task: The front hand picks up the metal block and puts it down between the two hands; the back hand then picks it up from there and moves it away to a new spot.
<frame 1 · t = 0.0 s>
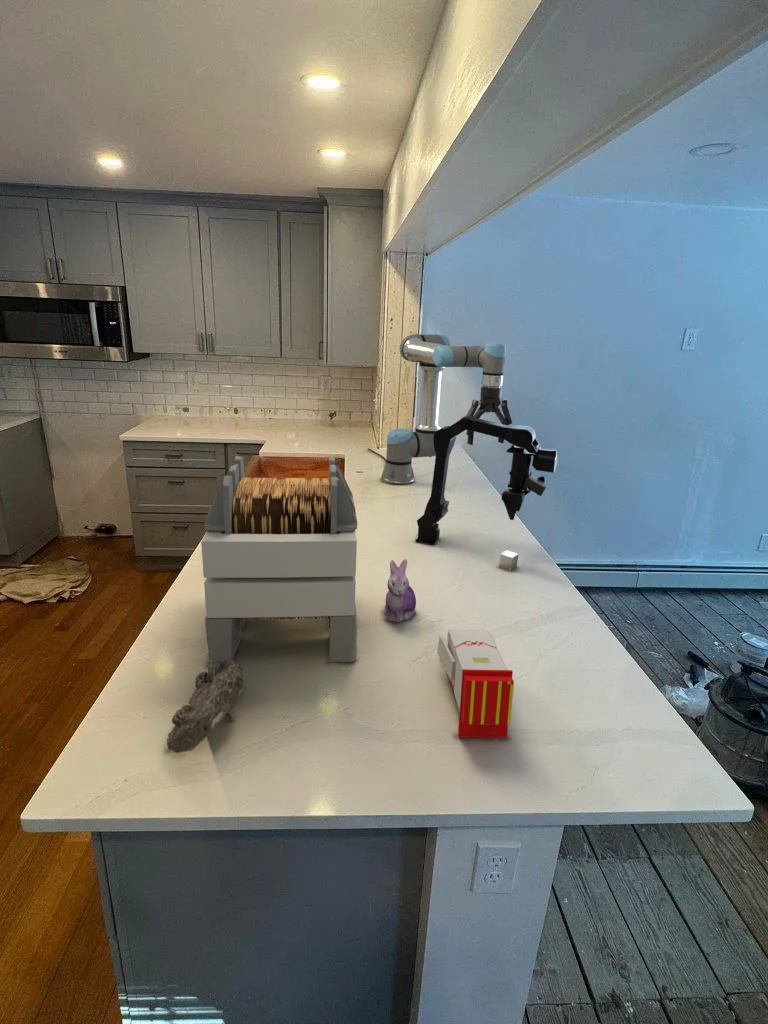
front hand: (514, 515, 180), 15 cm above the counter, tool pointing down, fingers open, 9 cm apart
back hand: (485, 443, 215), 28 cm above the counter, tool pointing down, fingers open, 13 cm apart
block: (507, 567, 177), on the counter
fossil: (212, 717, 108), on the counter
figurine: (399, 614, 147), on the counter
record storage crate: (286, 625, 140), on the counter
toy: (469, 691, 119), on the counter
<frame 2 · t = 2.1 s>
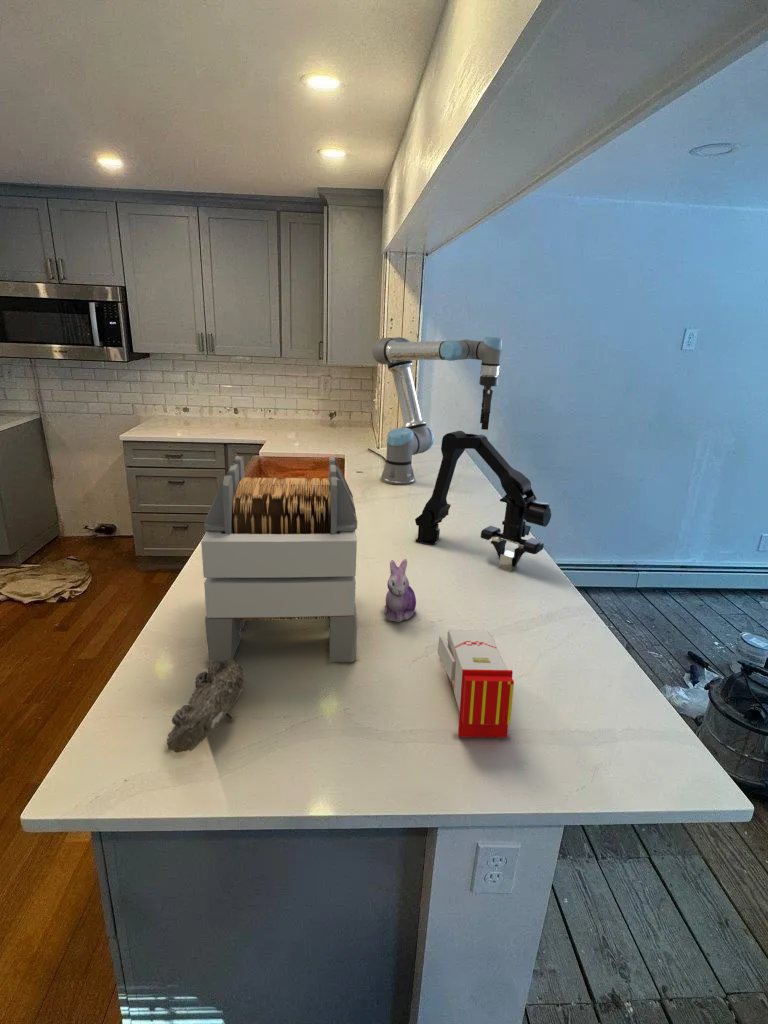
front hand: (508, 564, 177), 1 cm above the counter, tool pointing down, fingers closed on block, 4 cm apart
back hand: (483, 426, 243), 29 cm above the counter, tool pointing down, fingers open, 13 cm apart
block: (507, 567, 177), on the counter, touching front hand
everything else where it was.
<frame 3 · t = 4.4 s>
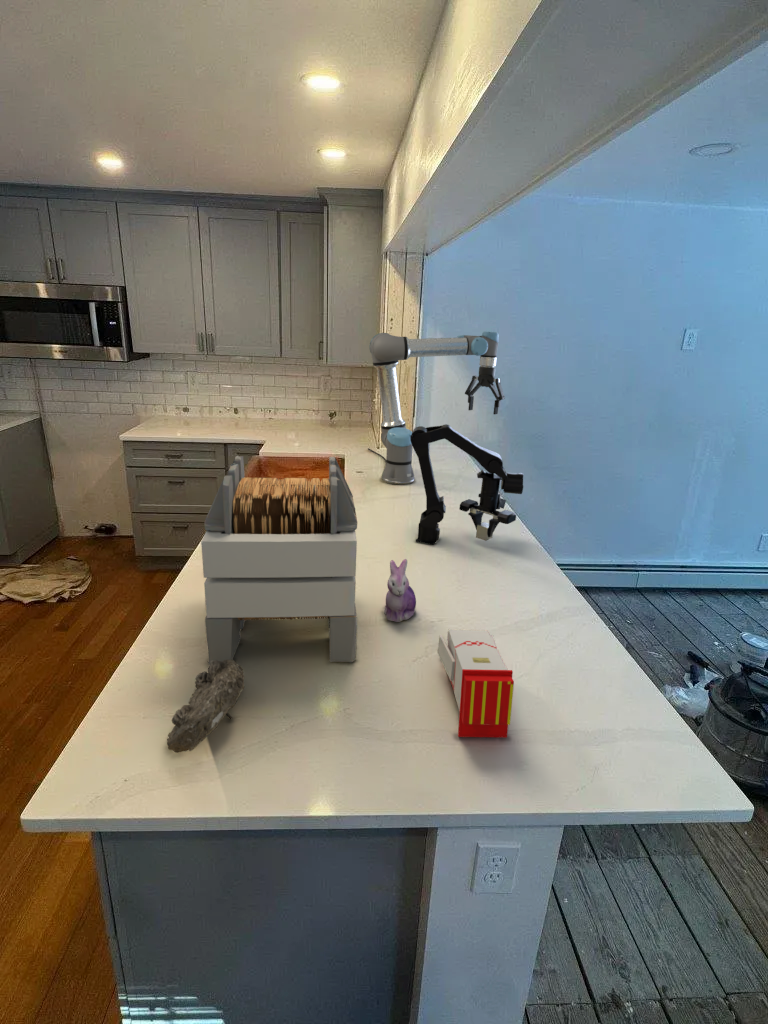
front hand: (484, 534, 192), 4 cm above the counter, tool pointing down, fingers closed on block, 4 cm apart
back hand: (482, 412, 271), 30 cm above the counter, tool pointing down, fingers open, 13 cm apart
block: (484, 537, 192), point 3 cm above the counter, touching front hand
everything else where it was.
when the front hand's fingers open (2 cm above the counter, at t = 6.7 s): block stays where it is, on the counter.
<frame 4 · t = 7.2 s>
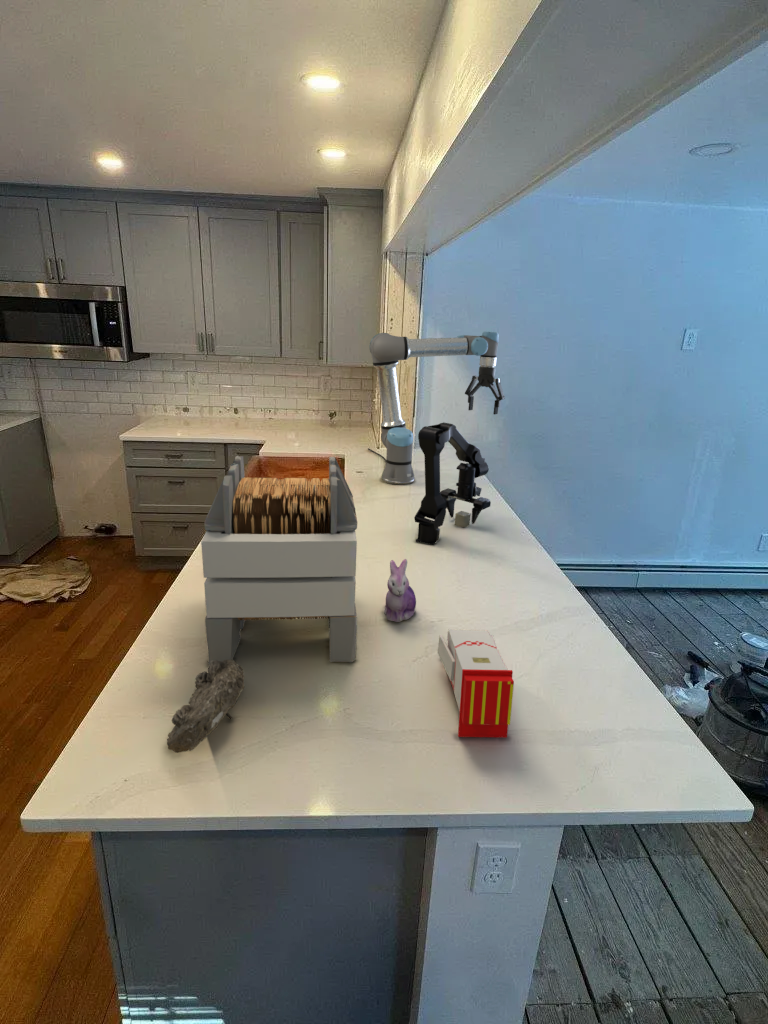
front hand: (462, 520, 210), 2 cm above the counter, tool pointing down, fingers open, 9 cm apart
back hand: (482, 412, 271), 30 cm above the counter, tool pointing down, fingers open, 13 cm apart
block: (462, 525, 211), on the counter
everything else where it was.
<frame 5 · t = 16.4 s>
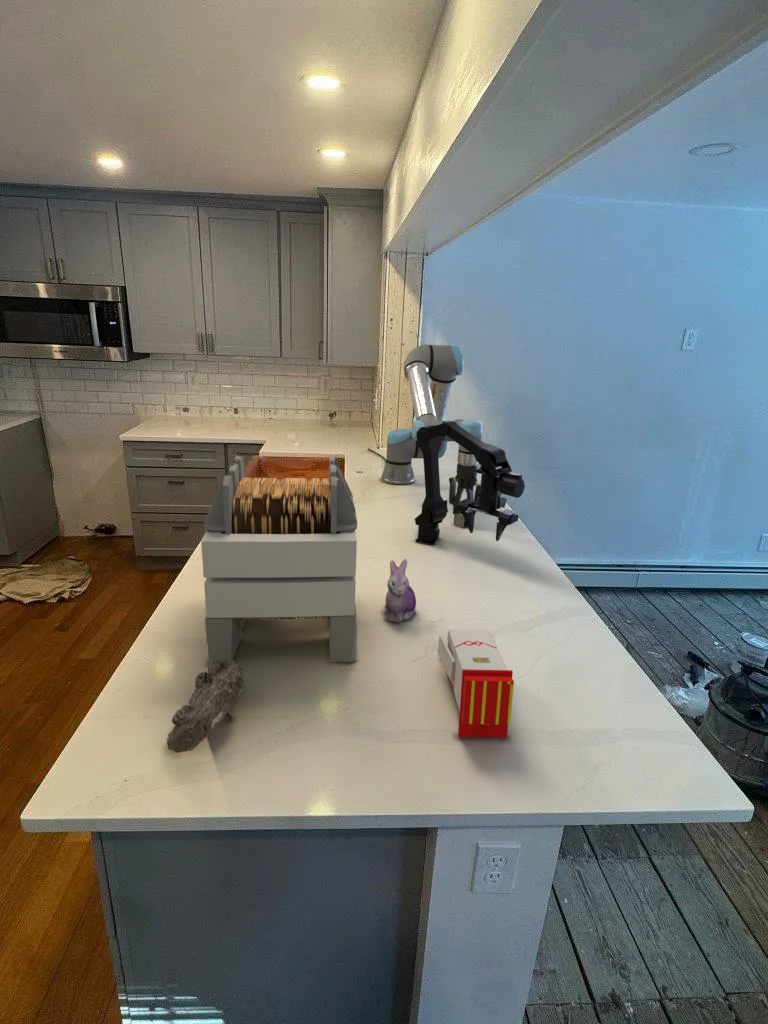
front hand: (484, 536, 178), 9 cm above the counter, tool pointing down, fingers open, 9 cm apart
back hand: (461, 524, 211), 0 cm above the counter, tool pointing down, fingers closed on block, 4 cm apart
block: (461, 525, 211), on the counter, touching back hand
everything else where it was.
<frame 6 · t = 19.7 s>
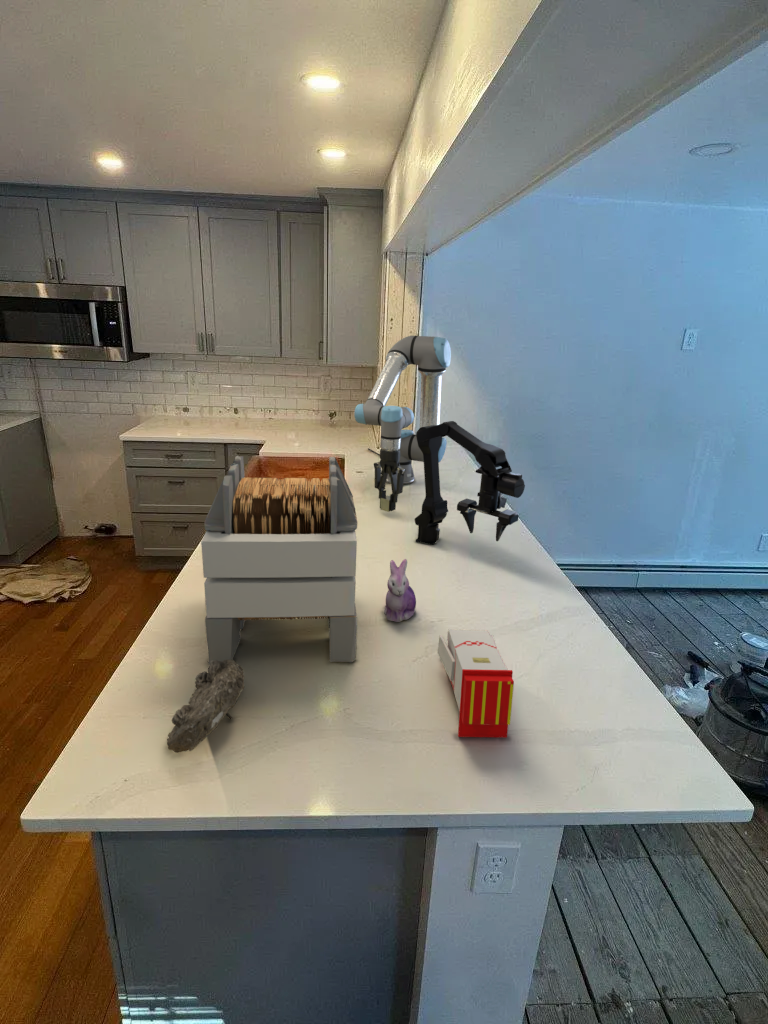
front hand: (484, 536, 178), 9 cm above the counter, tool pointing down, fingers open, 9 cm apart
back hand: (387, 508, 216), 3 cm above the counter, tool pointing down, fingers closed on block, 4 cm apart
block: (387, 509, 216), point 2 cm above the counter, touching back hand
everything else where it was.
when the back hand's fingers open (1 cm above the counter, at t = 23.3 s): block stays where it is, on the counter.
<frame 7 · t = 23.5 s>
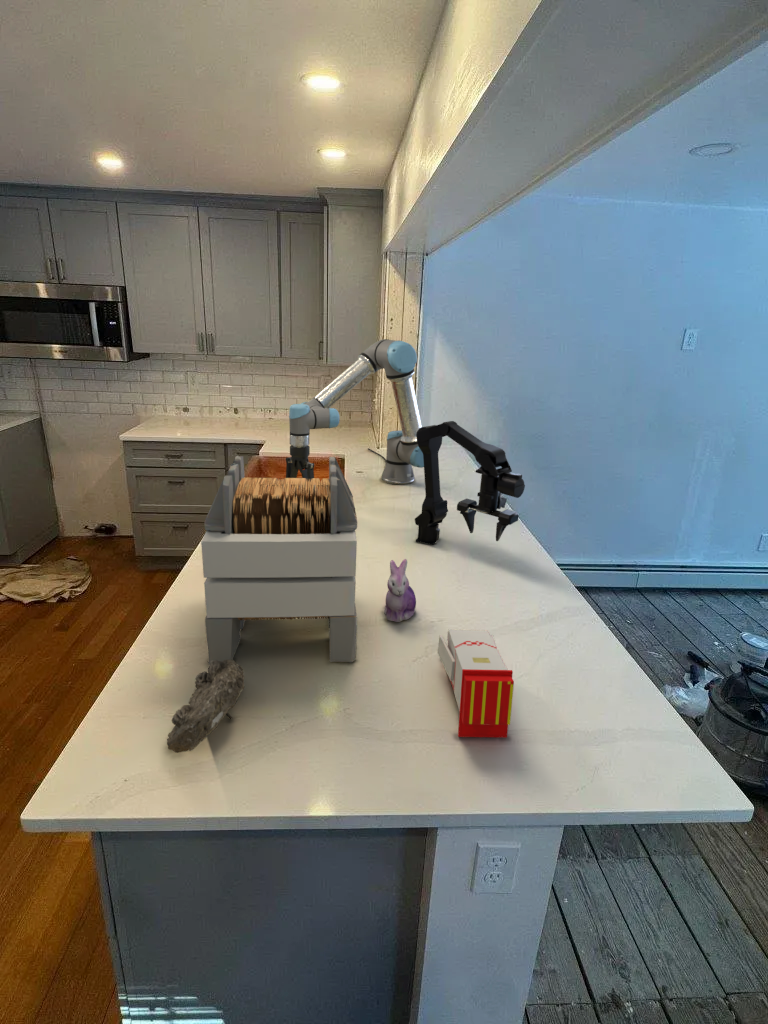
front hand: (484, 536, 178), 9 cm above the counter, tool pointing down, fingers open, 9 cm apart
back hand: (300, 502, 224), 1 cm above the counter, tool pointing down, fingers open, 7 cm apart
block: (300, 504, 225), on the counter
everything else where it was.
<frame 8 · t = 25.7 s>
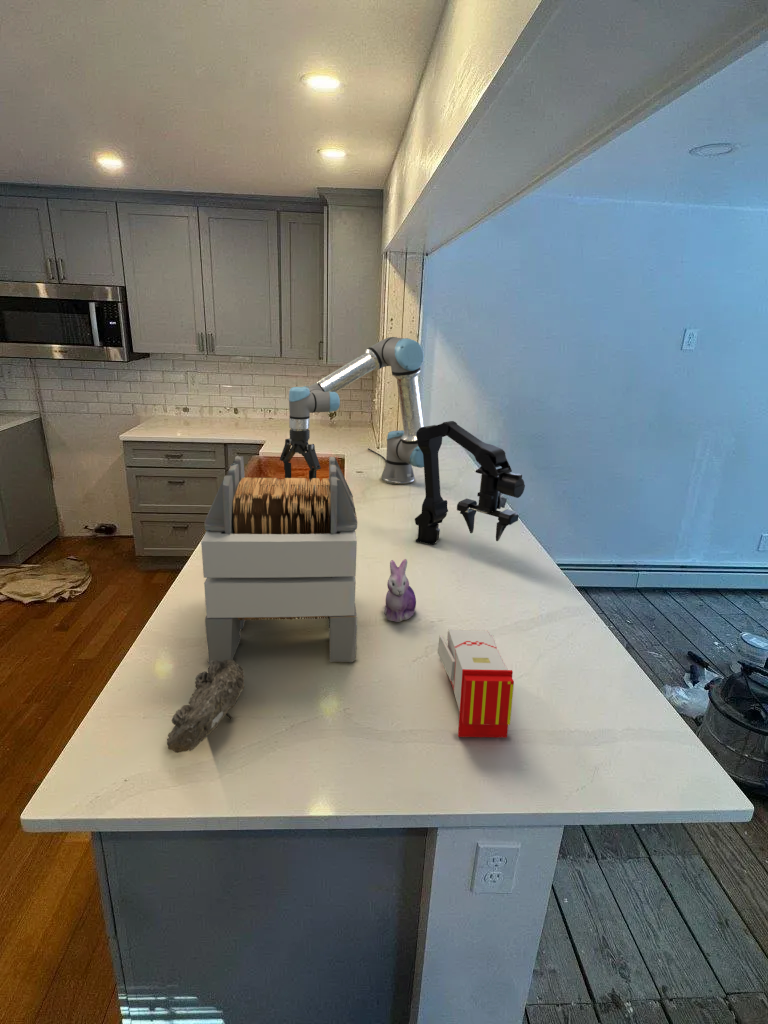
front hand: (484, 536, 178), 9 cm above the counter, tool pointing down, fingers open, 9 cm apart
back hand: (299, 482, 222), 9 cm above the counter, tool pointing down, fingers open, 13 cm apart
nothing on the counter moved.
at the end: block inside the target area (0.1 cm from its centre), on the counter; block tilted 0°; the two hands never held the block at the same time; the front hand is holding nothing; the back hand is holding nothing; block at rest at the end (0.0 cm/s) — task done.
